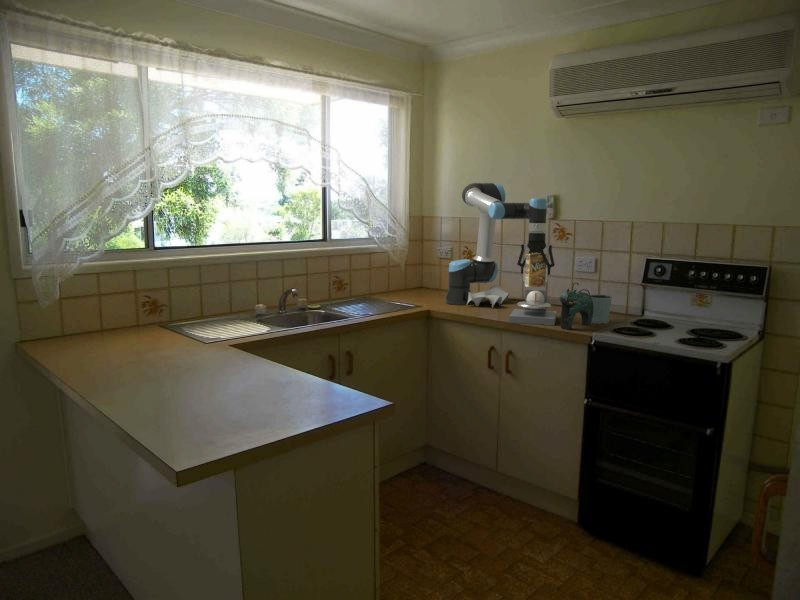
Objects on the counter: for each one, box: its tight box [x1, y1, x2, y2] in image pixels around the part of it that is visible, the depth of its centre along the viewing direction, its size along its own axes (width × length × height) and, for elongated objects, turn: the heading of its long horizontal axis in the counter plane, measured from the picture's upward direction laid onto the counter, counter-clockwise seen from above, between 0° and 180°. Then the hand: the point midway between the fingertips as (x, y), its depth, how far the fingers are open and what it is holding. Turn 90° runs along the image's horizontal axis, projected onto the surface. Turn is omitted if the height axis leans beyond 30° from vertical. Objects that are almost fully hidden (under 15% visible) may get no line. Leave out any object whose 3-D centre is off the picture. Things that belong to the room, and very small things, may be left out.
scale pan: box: [516, 300, 552, 310], centre depth 270 cm, size 15×15×2 cm
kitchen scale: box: [508, 288, 558, 326], centre depth 270 cm, size 20×20×13 cm
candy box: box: [524, 253, 548, 288], centre depth 267 cm, size 9×4×15 cm, turn 107°
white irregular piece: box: [465, 284, 510, 309], centre depth 313 cm, size 25×19×10 cm
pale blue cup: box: [590, 294, 613, 324], centre depth 267 cm, size 10×10×12 cm
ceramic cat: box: [559, 282, 594, 331], centre depth 254 cm, size 20×6×20 cm, turn 126°
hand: (535, 281), depth 267 cm, fingers closed on candy box, 9 cm apart
